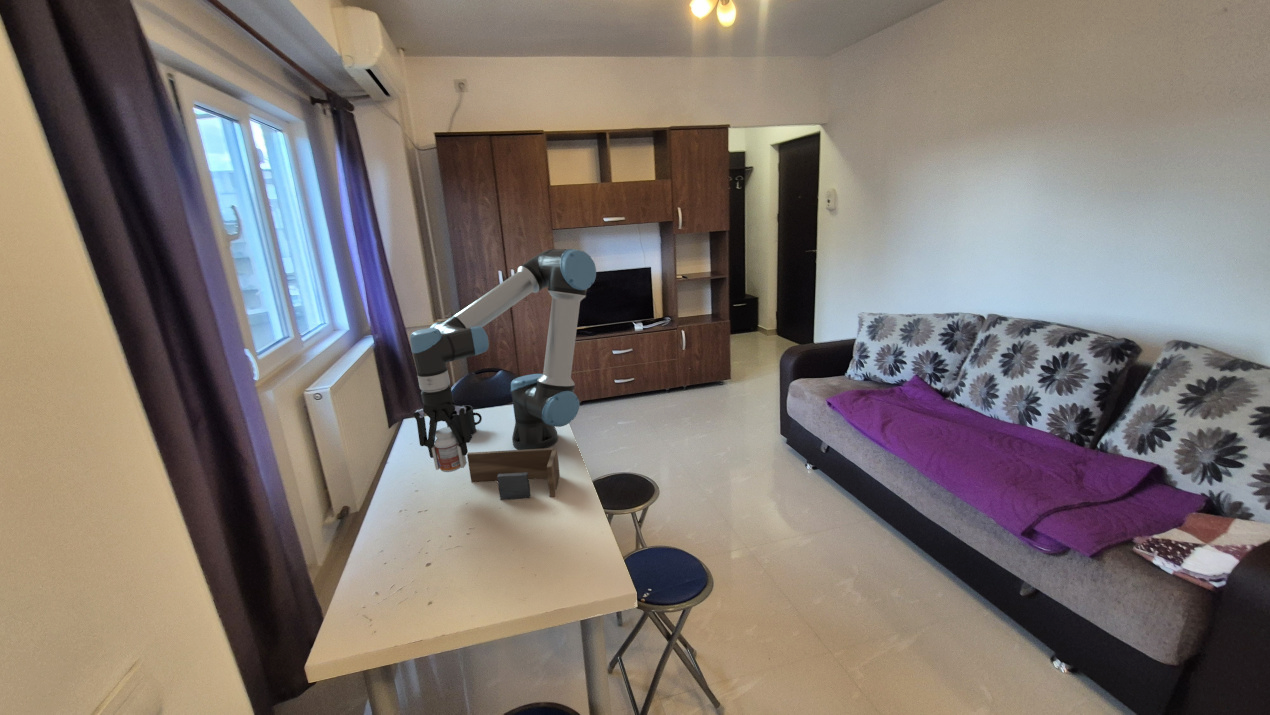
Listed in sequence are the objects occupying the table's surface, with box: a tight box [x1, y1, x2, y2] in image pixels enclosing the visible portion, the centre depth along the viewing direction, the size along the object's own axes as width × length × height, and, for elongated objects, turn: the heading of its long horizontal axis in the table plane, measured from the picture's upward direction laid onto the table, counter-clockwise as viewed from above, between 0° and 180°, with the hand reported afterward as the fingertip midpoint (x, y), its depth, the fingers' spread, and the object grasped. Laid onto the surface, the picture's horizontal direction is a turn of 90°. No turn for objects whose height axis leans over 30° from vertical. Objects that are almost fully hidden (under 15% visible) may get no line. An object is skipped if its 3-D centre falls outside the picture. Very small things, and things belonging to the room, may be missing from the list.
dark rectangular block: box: [497, 472, 532, 501], centre depth 141 cm, size 2×8×7 cm, turn 90°
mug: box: [446, 404, 483, 435], centre depth 186 cm, size 9×12×9 cm
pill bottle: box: [434, 426, 462, 473], centre depth 142 cm, size 6×6×11 cm
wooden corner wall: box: [466, 447, 561, 498], centre depth 146 cm, size 12×26×9 cm, turn 90°
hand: (451, 466), depth 143 cm, fingers closed on pill bottle, 6 cm apart
